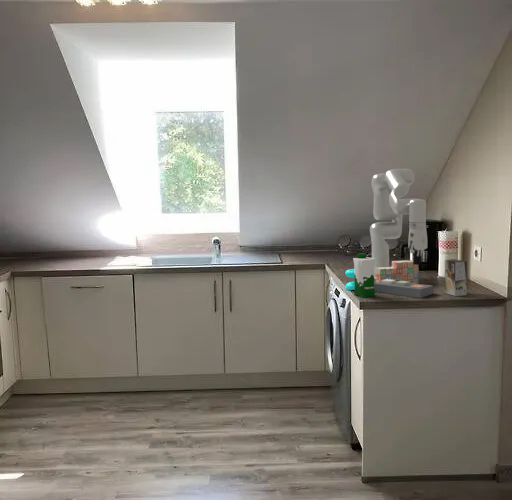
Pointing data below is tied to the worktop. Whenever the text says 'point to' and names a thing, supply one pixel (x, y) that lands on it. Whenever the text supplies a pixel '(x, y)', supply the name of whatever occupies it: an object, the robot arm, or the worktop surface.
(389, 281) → the cream key
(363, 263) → the milk carton
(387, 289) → the key panel
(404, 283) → the sage key
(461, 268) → the coffee box
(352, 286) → the donuts
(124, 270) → the worktop surface
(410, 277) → the stack of blocks
